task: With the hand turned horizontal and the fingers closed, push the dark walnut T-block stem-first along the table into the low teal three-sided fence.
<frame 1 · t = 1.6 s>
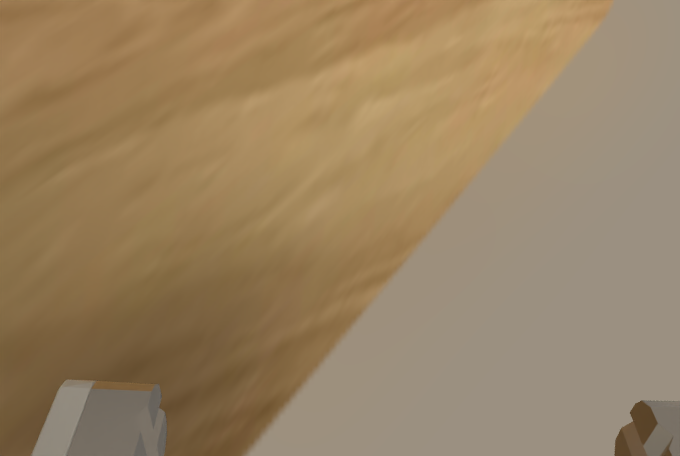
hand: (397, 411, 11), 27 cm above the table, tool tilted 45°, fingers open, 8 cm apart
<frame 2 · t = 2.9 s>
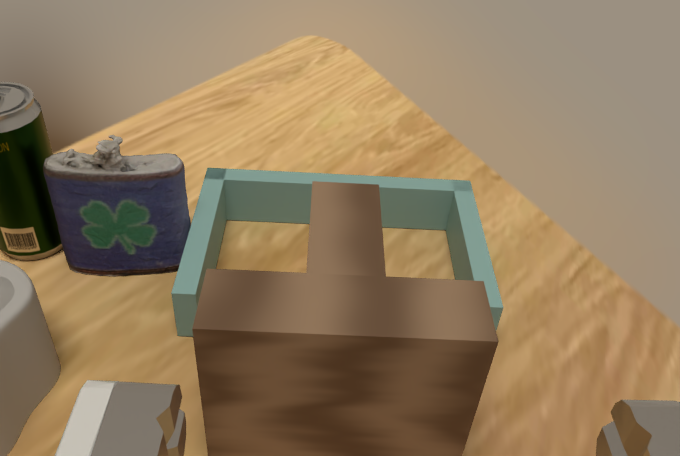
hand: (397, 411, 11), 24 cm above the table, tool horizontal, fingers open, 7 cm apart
fence: (336, 270, 49), on the table
beer can: (37, 241, 50), on the table
flask: (131, 264, 49), on the table
t block: (334, 434, 38), on the table
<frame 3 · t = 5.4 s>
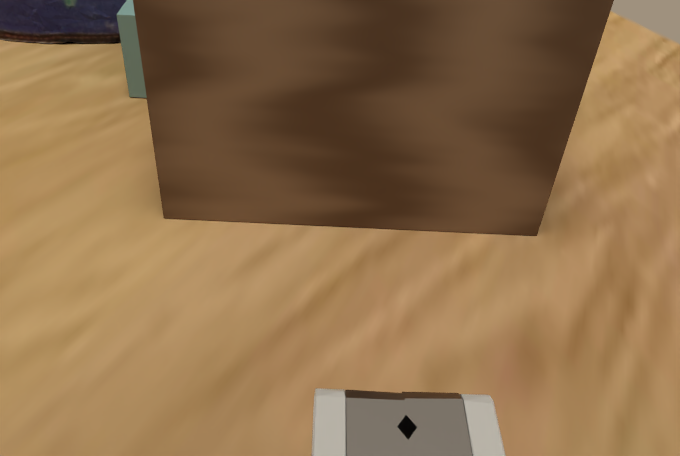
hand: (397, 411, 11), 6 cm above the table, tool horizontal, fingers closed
fence: (348, 48, 37), on the table
flask: (74, 37, 36), on the table
t block: (351, 195, 26), on the table
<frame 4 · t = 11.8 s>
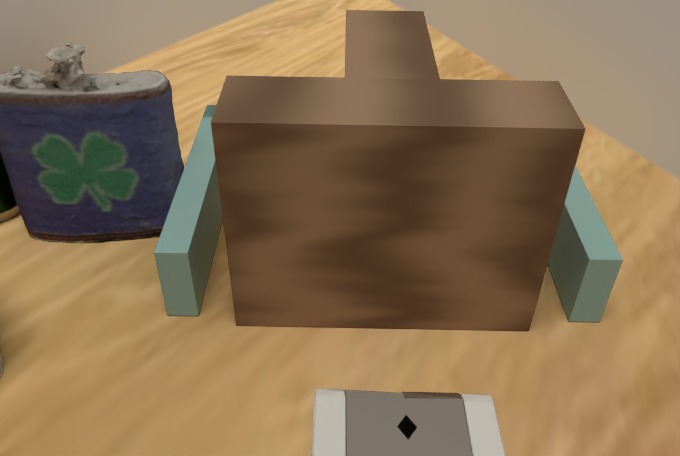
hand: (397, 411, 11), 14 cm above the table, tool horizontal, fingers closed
fence: (378, 229, 37), on the table
flask: (110, 228, 37), on the table
t block: (380, 298, 33), on the table
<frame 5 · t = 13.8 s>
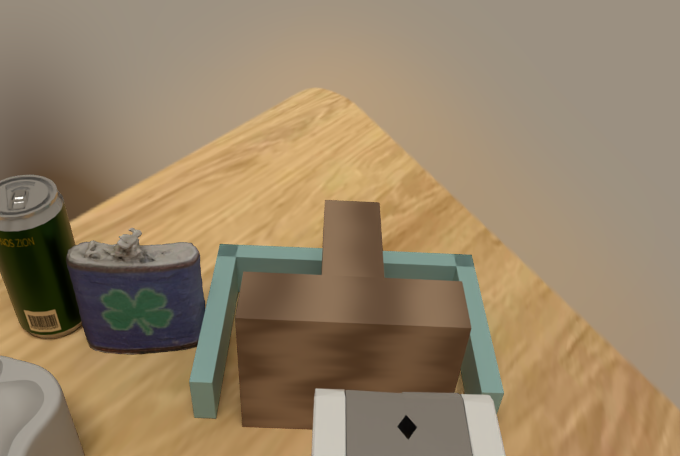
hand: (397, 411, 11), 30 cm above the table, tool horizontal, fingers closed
fence: (344, 346, 51), on the table
beer can: (57, 317, 52), on the table
flask: (148, 341, 51), on the table
t block: (343, 406, 47), on the table
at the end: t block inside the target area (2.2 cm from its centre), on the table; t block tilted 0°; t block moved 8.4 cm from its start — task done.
